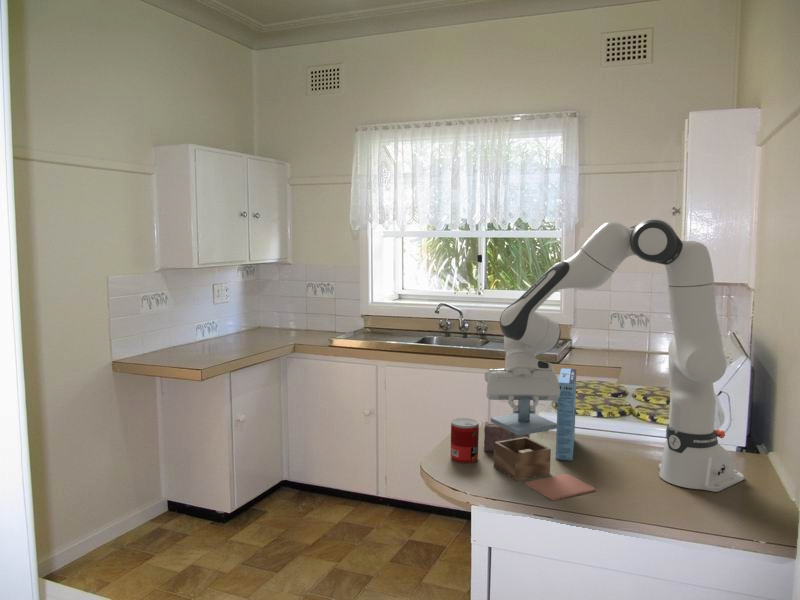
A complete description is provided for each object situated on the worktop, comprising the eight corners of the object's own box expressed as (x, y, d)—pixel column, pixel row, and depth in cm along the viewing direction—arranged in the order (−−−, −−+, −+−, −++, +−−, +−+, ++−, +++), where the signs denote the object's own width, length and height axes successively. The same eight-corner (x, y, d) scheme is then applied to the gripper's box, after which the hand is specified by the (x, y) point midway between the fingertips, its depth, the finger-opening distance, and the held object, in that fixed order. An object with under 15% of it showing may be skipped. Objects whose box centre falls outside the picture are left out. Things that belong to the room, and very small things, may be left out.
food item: (530, 448, 199) (531, 417, 197) (528, 457, 191) (529, 425, 190) (485, 444, 202) (485, 413, 201) (482, 453, 194) (482, 421, 193)
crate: (525, 460, 189) (526, 436, 188) (549, 473, 179) (550, 449, 178) (493, 466, 184) (494, 442, 183) (516, 480, 174) (517, 455, 173)
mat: (567, 475, 178) (567, 473, 177) (595, 490, 168) (595, 488, 168) (525, 484, 172) (525, 482, 171) (551, 500, 162) (551, 498, 162)
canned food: (476, 464, 185) (477, 427, 184) (448, 462, 187) (449, 425, 185) (479, 455, 192) (479, 418, 191) (452, 452, 194) (452, 417, 193)
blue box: (572, 461, 188) (575, 383, 185) (554, 459, 189) (557, 382, 186) (574, 439, 206) (577, 368, 204) (558, 438, 208) (561, 367, 205)
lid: (528, 418, 188) (529, 391, 187) (557, 431, 177) (558, 402, 176) (490, 425, 183) (491, 396, 182) (518, 439, 171) (518, 408, 170)
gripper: (484, 363, 185) (486, 406, 177) (558, 363, 184) (563, 407, 175) (484, 374, 190) (485, 417, 182) (555, 375, 189) (560, 418, 180)
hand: (524, 412), depth 178 cm, fingers closed on lid, 3 cm apart
